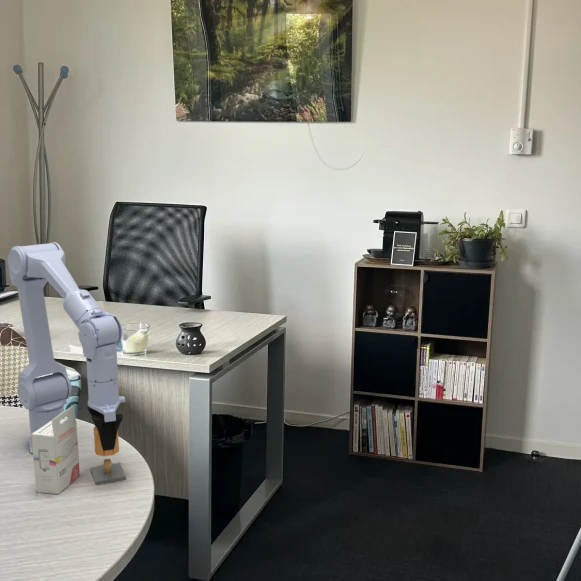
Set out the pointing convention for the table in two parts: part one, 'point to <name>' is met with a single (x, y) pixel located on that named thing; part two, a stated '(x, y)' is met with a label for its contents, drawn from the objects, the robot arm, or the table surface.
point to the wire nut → (99, 448)
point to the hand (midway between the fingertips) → (106, 444)
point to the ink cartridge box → (56, 453)
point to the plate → (107, 472)
